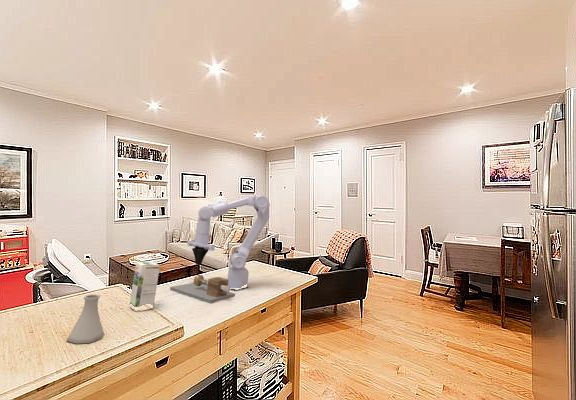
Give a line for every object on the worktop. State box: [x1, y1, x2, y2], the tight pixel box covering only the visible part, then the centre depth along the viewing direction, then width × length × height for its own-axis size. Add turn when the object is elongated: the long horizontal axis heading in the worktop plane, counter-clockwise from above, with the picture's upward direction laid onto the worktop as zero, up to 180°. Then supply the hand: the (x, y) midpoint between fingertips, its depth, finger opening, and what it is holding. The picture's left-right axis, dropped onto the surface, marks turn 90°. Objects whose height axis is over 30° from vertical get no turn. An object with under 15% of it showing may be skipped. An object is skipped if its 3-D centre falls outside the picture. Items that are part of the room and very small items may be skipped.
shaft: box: [193, 274, 231, 292], centre depth 114 cm, size 4×17×4 cm, turn 61°
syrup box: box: [129, 260, 161, 307], centre depth 92 cm, size 6×6×14 cm
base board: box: [169, 282, 236, 304], centre depth 116 cm, size 14×22×1 cm, turn 61°
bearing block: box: [207, 276, 229, 297], centre depth 112 cm, size 6×5×6 cm
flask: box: [66, 293, 105, 344], centre depth 69 cm, size 7×7×10 cm
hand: (198, 264), depth 125 cm, fingers closed
